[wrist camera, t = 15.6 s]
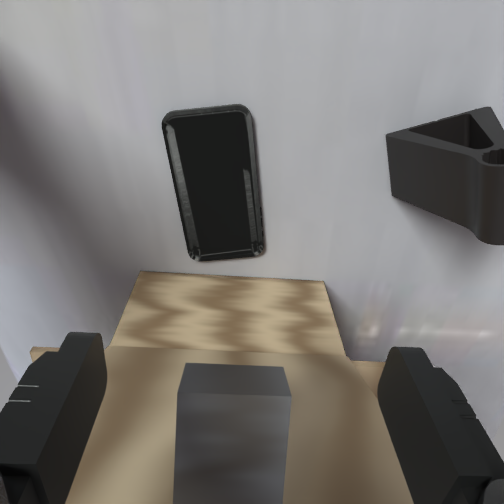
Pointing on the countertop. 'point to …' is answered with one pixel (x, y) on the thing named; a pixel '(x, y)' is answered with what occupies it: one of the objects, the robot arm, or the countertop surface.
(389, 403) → the robot arm
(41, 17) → the countertop surface
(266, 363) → the lid flap
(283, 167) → the countertop surface
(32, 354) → the carton
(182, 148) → the phone
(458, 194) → the phone stand
